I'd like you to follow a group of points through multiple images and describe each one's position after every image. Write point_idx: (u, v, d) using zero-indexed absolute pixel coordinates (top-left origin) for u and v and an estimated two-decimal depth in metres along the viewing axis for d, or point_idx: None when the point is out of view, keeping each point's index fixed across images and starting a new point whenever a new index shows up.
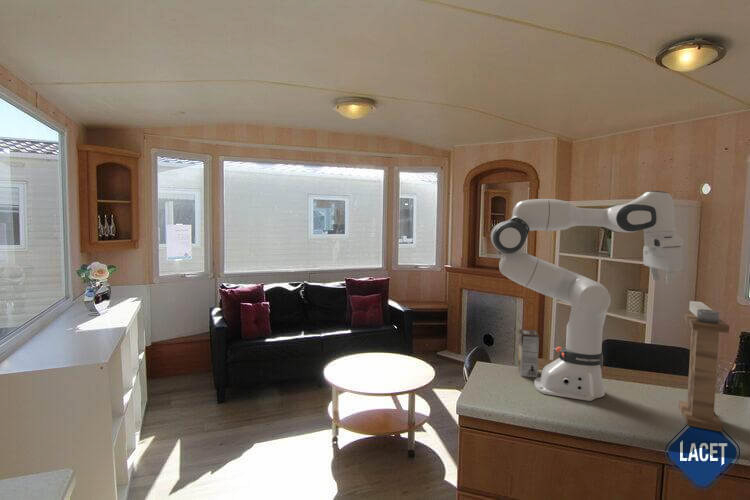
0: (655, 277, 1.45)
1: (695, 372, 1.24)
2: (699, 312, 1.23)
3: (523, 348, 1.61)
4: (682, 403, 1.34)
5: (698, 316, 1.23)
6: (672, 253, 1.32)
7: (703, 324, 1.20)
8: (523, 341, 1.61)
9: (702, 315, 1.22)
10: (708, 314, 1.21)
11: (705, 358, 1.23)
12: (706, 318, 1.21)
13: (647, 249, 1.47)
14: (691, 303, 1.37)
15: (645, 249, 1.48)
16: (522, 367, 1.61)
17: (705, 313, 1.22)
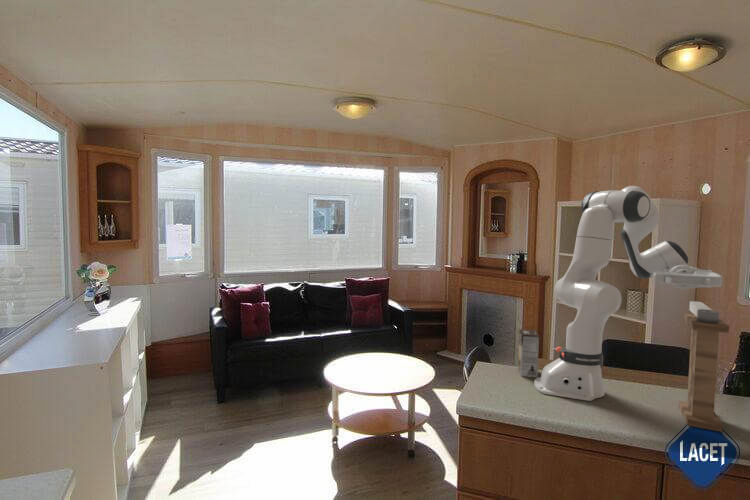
0: (674, 279, 1.49)
1: (695, 372, 1.24)
2: (699, 312, 1.23)
3: (523, 348, 1.61)
4: (682, 403, 1.34)
5: (698, 316, 1.23)
6: None
7: (703, 324, 1.20)
8: (523, 341, 1.61)
9: (702, 315, 1.22)
10: (708, 314, 1.21)
11: (705, 358, 1.23)
12: (706, 318, 1.21)
13: (666, 272, 1.58)
14: (691, 303, 1.37)
15: (661, 272, 1.59)
16: (522, 367, 1.61)
17: (705, 313, 1.22)
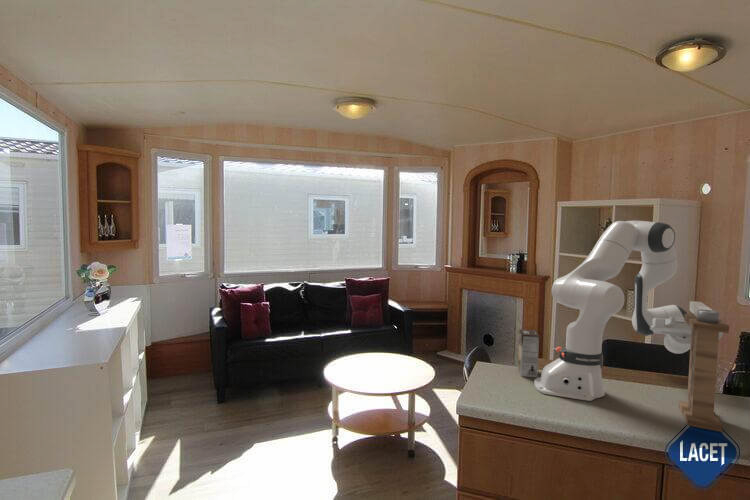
0: None
1: (695, 372, 1.24)
2: (699, 312, 1.23)
3: (523, 348, 1.61)
4: (682, 403, 1.34)
5: (698, 316, 1.23)
6: None
7: (703, 324, 1.20)
8: (523, 341, 1.61)
9: (702, 315, 1.22)
10: (708, 314, 1.21)
11: (705, 358, 1.23)
12: (706, 318, 1.21)
13: None
14: (691, 303, 1.37)
15: None
16: (522, 367, 1.61)
17: (705, 313, 1.22)
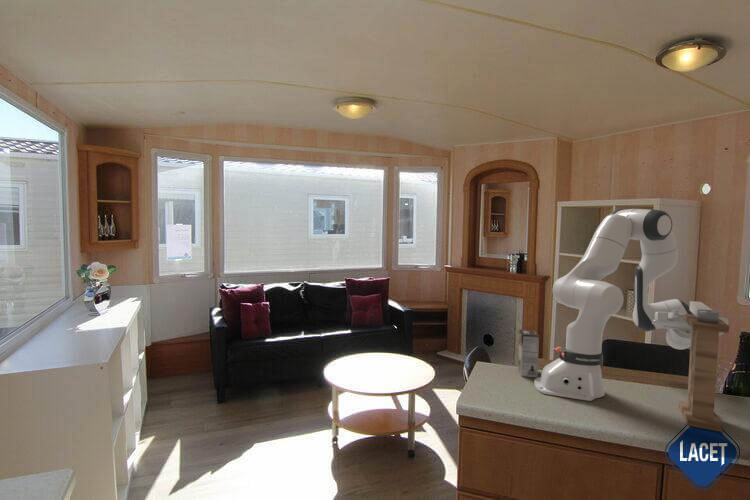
0: None
1: (695, 372, 1.24)
2: (699, 312, 1.23)
3: (523, 348, 1.61)
4: (682, 403, 1.34)
5: (698, 316, 1.23)
6: None
7: (703, 324, 1.20)
8: (523, 341, 1.61)
9: (702, 315, 1.22)
10: (708, 314, 1.21)
11: (705, 358, 1.23)
12: (706, 318, 1.21)
13: None
14: (691, 303, 1.37)
15: None
16: (522, 367, 1.61)
17: (705, 313, 1.22)
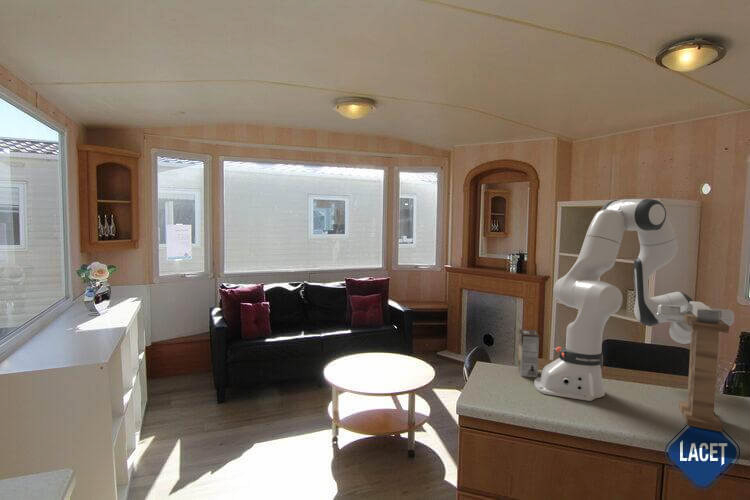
0: (691, 306, 1.36)
1: (695, 372, 1.24)
2: (699, 312, 1.23)
3: (523, 348, 1.61)
4: (682, 403, 1.34)
5: (698, 316, 1.23)
6: None
7: (703, 324, 1.20)
8: (523, 341, 1.61)
9: (702, 315, 1.22)
10: (708, 314, 1.21)
11: (705, 358, 1.23)
12: (706, 318, 1.21)
13: None
14: (691, 303, 1.37)
15: None
16: (522, 367, 1.61)
17: (705, 313, 1.21)
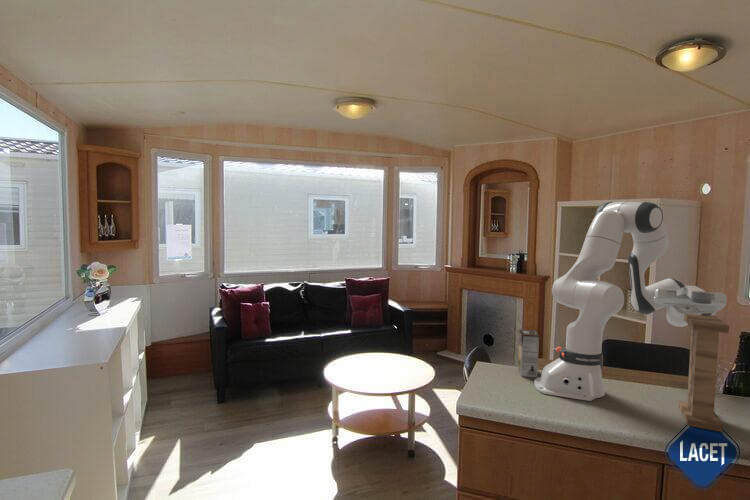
0: (686, 289, 1.45)
1: (695, 372, 1.24)
2: (693, 294, 1.32)
3: (523, 348, 1.61)
4: (682, 403, 1.34)
5: (692, 297, 1.32)
6: None
7: (703, 324, 1.20)
8: (523, 341, 1.61)
9: (696, 296, 1.31)
10: (701, 295, 1.30)
11: (705, 358, 1.23)
12: (699, 299, 1.30)
13: None
14: (686, 287, 1.46)
15: None
16: (522, 367, 1.61)
17: (699, 294, 1.30)
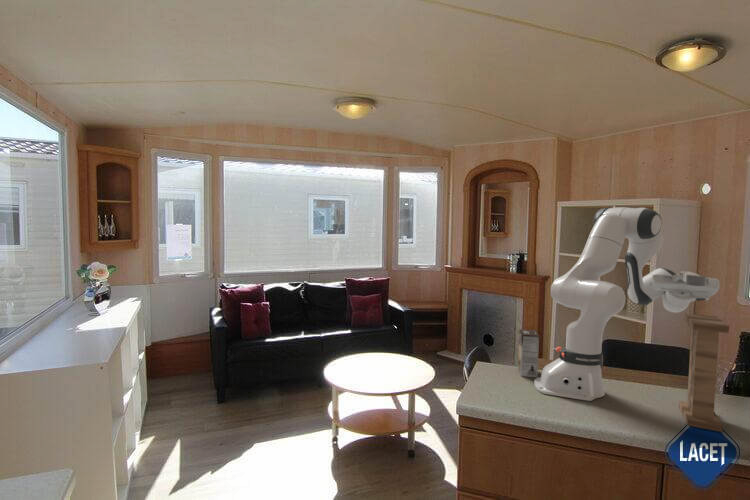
0: None
1: (695, 372, 1.24)
2: (688, 276, 1.40)
3: (523, 348, 1.61)
4: (682, 403, 1.34)
5: (687, 280, 1.41)
6: None
7: (703, 324, 1.20)
8: (523, 341, 1.61)
9: (690, 279, 1.39)
10: (695, 278, 1.38)
11: (705, 358, 1.23)
12: (694, 281, 1.39)
13: None
14: (682, 272, 1.54)
15: None
16: (522, 367, 1.61)
17: (693, 277, 1.39)
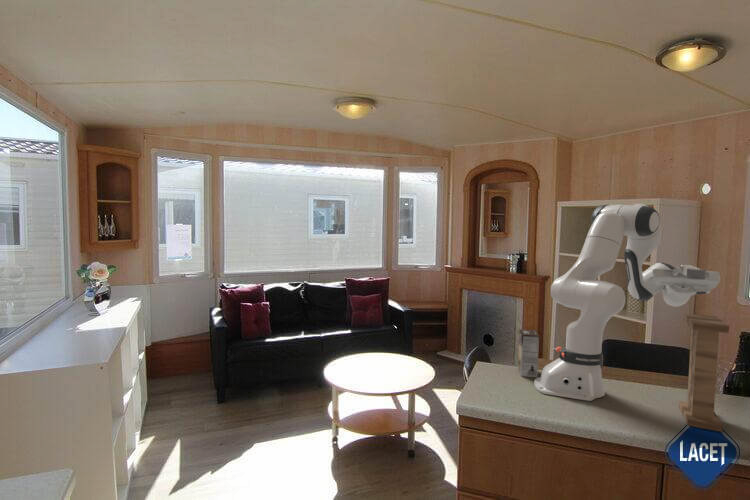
0: None
1: (695, 372, 1.24)
2: (688, 270, 1.40)
3: (523, 348, 1.61)
4: (682, 403, 1.34)
5: (687, 274, 1.41)
6: None
7: (703, 324, 1.20)
8: (523, 341, 1.61)
9: (691, 272, 1.39)
10: (696, 271, 1.38)
11: (705, 358, 1.23)
12: (694, 275, 1.38)
13: None
14: (682, 266, 1.54)
15: None
16: (522, 367, 1.61)
17: (693, 271, 1.39)
